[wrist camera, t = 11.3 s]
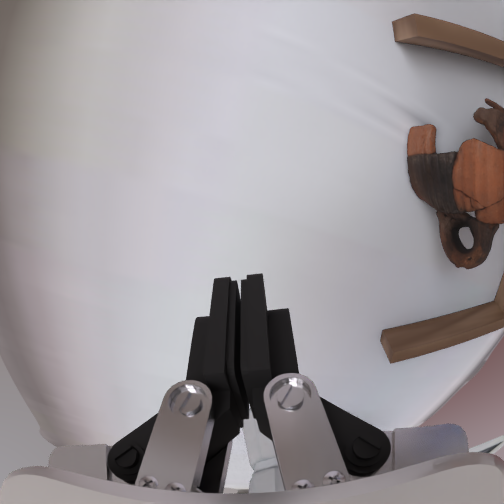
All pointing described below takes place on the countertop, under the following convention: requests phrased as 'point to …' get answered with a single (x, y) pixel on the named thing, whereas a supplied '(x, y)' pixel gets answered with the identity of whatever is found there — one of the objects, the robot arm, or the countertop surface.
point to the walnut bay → (500, 310)
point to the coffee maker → (261, 459)
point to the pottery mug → (462, 185)
